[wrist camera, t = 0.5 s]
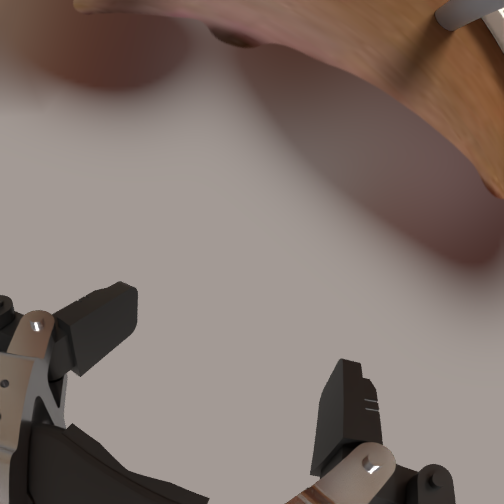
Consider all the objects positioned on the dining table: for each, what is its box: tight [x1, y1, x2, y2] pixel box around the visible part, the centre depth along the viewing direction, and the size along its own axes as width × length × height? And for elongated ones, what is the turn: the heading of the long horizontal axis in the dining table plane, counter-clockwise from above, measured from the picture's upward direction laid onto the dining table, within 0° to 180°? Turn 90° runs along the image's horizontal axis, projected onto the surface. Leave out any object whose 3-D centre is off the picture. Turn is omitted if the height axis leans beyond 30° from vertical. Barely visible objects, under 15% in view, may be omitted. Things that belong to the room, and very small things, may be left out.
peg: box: [435, 0, 504, 31], centre depth 12 cm, size 4×4×14 cm
